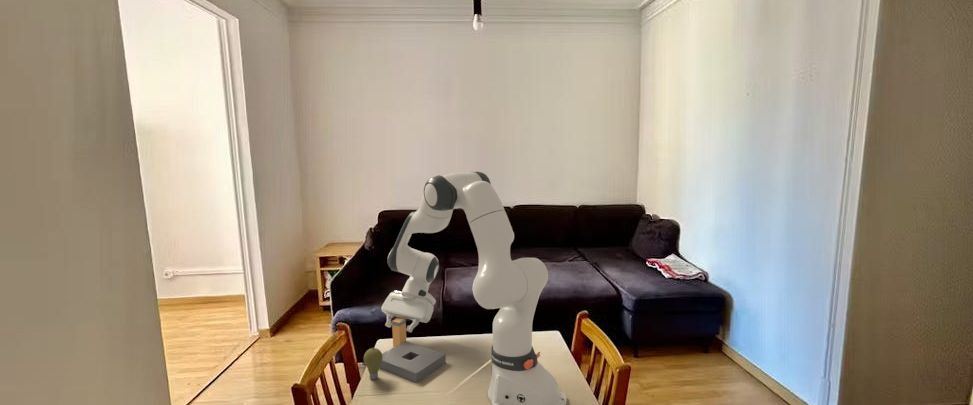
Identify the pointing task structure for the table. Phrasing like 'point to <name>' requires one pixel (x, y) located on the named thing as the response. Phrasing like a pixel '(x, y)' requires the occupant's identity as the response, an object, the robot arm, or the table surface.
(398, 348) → the grey block with hole
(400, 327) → the plug
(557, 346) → the table surface
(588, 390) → the table surface
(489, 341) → the table surface
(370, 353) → the light bulb
